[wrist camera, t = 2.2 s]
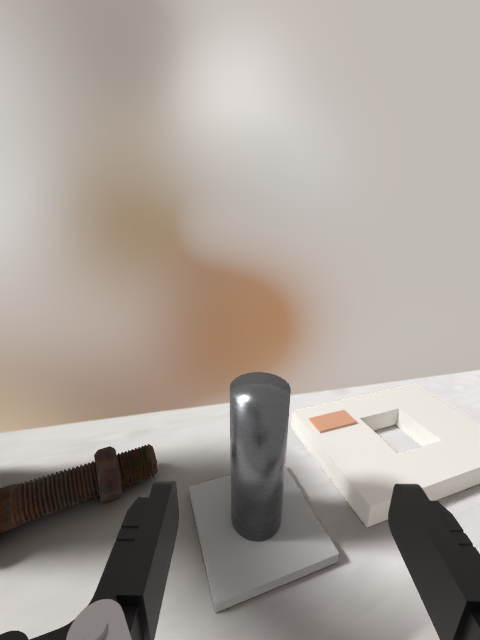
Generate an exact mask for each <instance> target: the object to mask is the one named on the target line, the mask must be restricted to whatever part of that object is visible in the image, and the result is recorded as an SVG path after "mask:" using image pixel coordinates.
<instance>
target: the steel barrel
mask: <svg viewBox="0 0 480 640" xmlns="http://www.w3.org/2000/svg"><path fill="white" fill-rule="evenodd" d="M289 405H290V386H289V384H288V383H287V382H286V381H285V380H284V379H282V378H281V377H278V376H276V375H273V374H269V373H262V372H254V373H247V374H244V375H241V376H239V377H237V378H236V379H234V380H233V381H232V383H231V385H230V462H231V522H232V525H233V527H234V529H235V531H236V532H237V533H238V534H239V535H240V536H242V537H243V538H245V539H247V540H250V541H254V542H261V541H265V540H268V539H270V538H272V537H273V536H274V535H275V534H276V533H277V532H278V530H279V528H280V525H281V519H282V505H283V490H284V476H285V462H286V448H287V433H288V419H289Z"/></svg>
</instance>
